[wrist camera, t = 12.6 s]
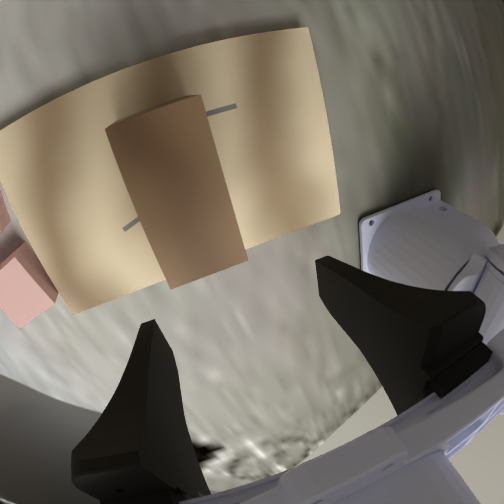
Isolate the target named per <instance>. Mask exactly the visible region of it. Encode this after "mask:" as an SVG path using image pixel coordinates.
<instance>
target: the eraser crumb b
mask: <svg viewBox="0 0 504 504" xmlns="http://www.w3.org/2000/svg"><path fill="white" fill-rule="evenodd" d="M57 295H58V290H57V289H56V287H55V286H54V284H53V282H52V281H51V279H50V277H49V276H48V274H47V272H46V271H45V269H44V267H43V266H42V264H41V262H40V260H39V259H38V257H37V256H36V255H35V254H34V252H33V251H32V250H31V249H30V247H29V246H28V245H27V243H26V242H24V243H23V244H22V245H21V246H19V247H18V248H17V249H16V250H15V251H14V252H13V253H11V254H10V255H9V256H8V257H7V258H6V259H5V260H4V261H3V262H2V263H0V309H1V310H2V311H3V312H4V313H5V314H6V315H7V316H8V317H9V318H10V319H11V320H12V321H13V322H14V323H15V324H16V325H17V326H18V327H19V328H22V327H23V326H24V325H26V324H27V323H28V322H30V321H31V320H32V319H34V318H35V317H37V316H38V315H39V314H41V313H42V312H43V311H45V310H46V309H48V308H49V307H50V306H52V305H53V304H55V301H56V298H57Z"/></svg>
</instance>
